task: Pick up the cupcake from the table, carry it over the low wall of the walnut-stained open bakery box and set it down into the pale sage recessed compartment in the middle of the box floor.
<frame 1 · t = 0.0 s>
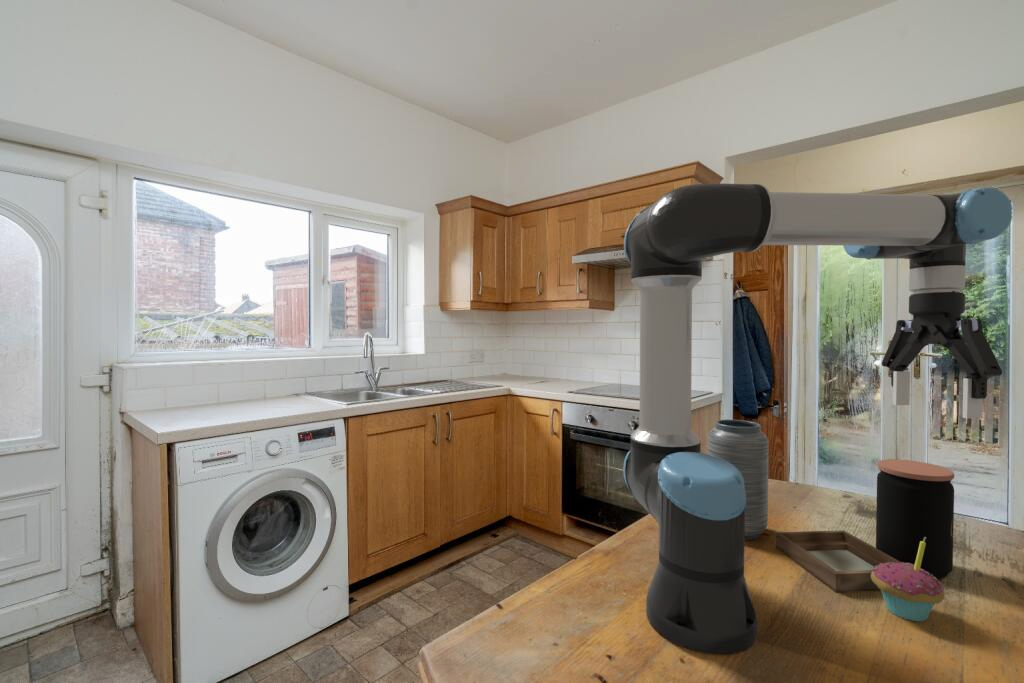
hand: (933, 411, 86), 28 cm above the table, fingers open, 13 cm apart
cupcake: (905, 613, 72), on the table
coffee jar: (912, 567, 87), on the table
vase: (736, 531, 102), on the table
walled box: (840, 566, 86), on the table
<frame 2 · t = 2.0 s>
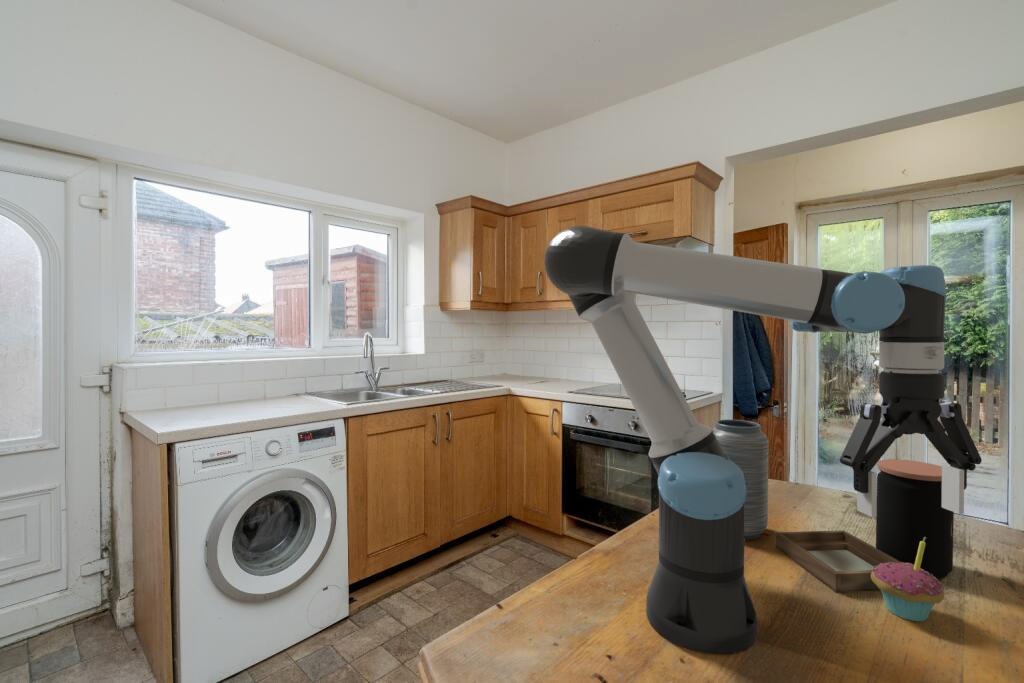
hand: (909, 512, 72), 15 cm above the table, fingers open, 13 cm apart
nothing on the table moved.
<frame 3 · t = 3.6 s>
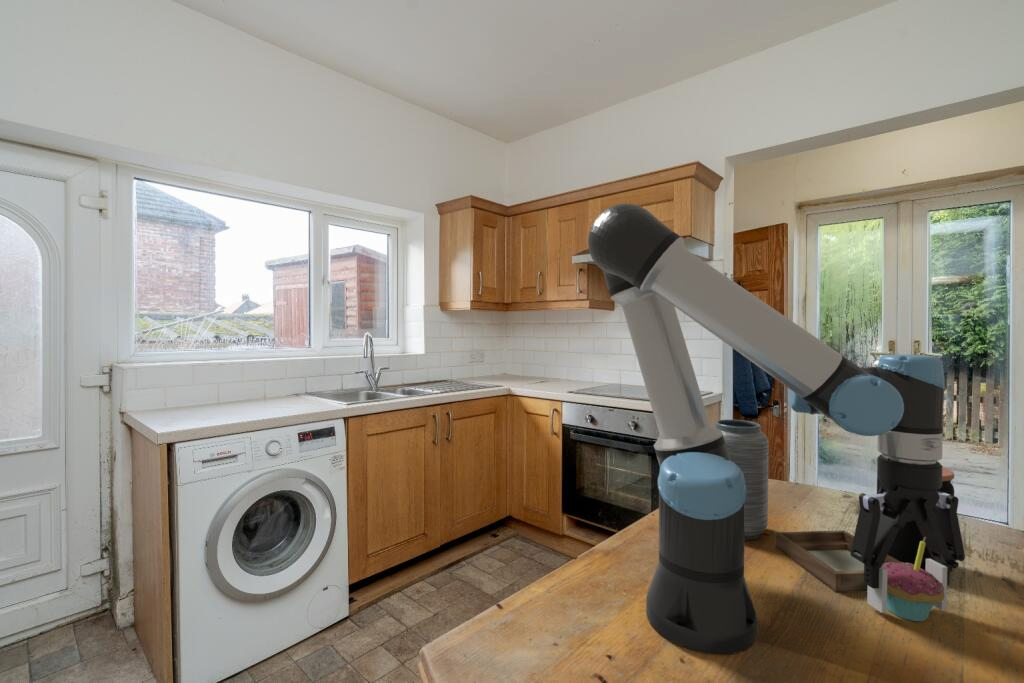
hand: (906, 606, 72), 1 cm above the table, fingers closed on cupcake, 9 cm apart
cupcake: (905, 613, 72), on the table, touching gripper
everything else where it was.
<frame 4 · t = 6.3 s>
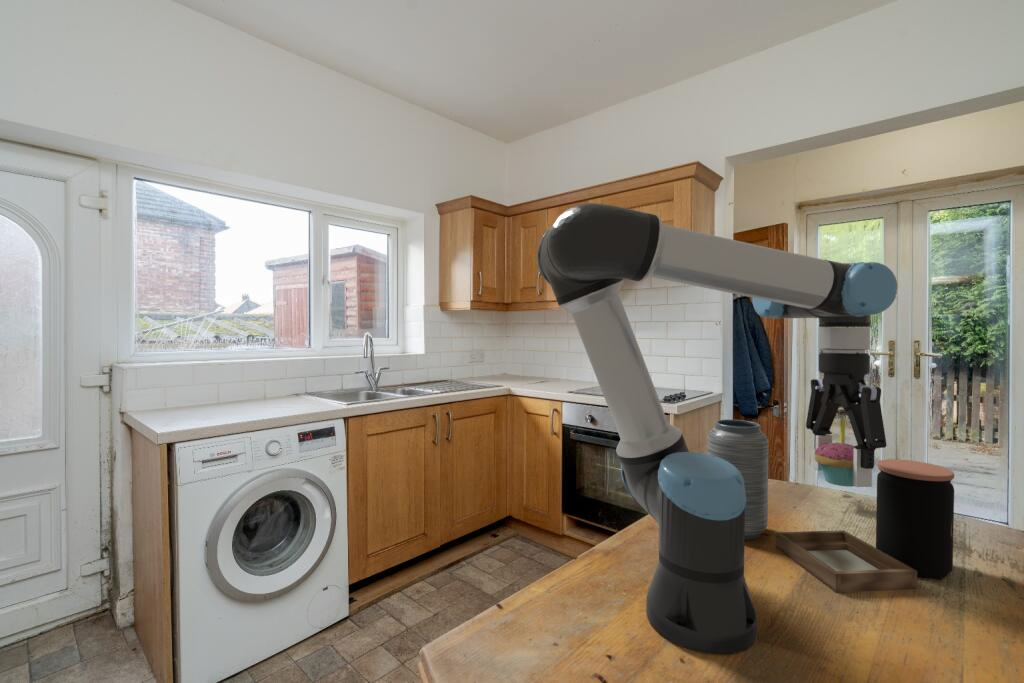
hand: (841, 477, 86), 16 cm above the table, fingers closed on cupcake, 9 cm apart
cupcake: (842, 483, 86), point 15 cm above the table, touching gripper
everything else where it was.
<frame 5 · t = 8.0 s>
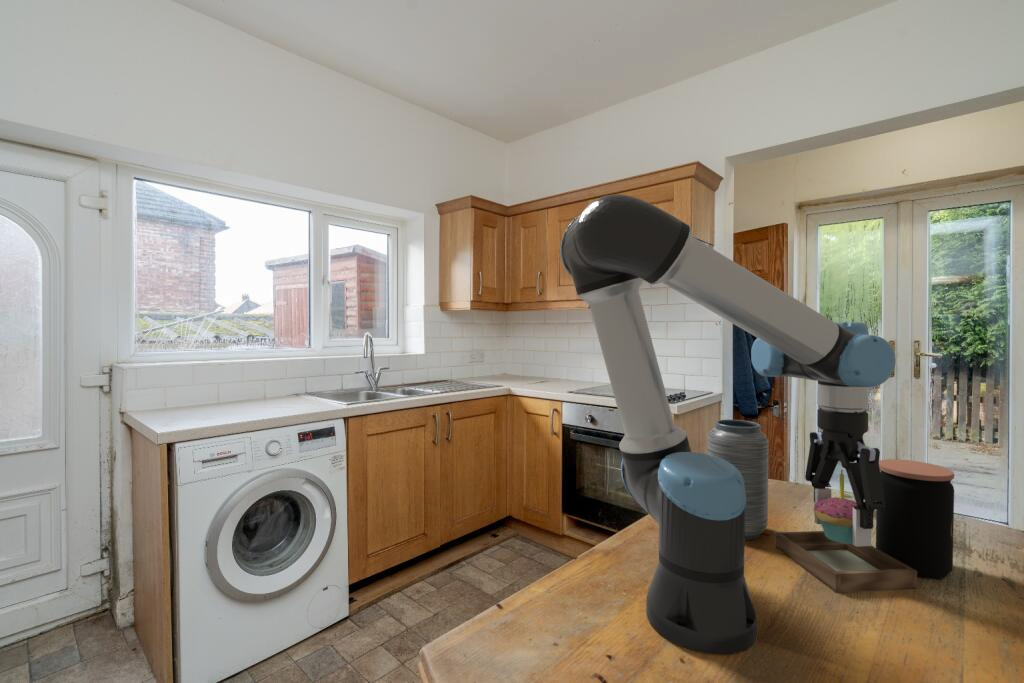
hand: (841, 533, 86), 6 cm above the table, fingers closed on cupcake, 9 cm apart
cupcake: (841, 539, 86), point 5 cm above the table, touching gripper
everything else where it was.
when the fingers open (3 cm above the table, at t = 9.2 s): cupcake drops 2 cm, resting on walled box.
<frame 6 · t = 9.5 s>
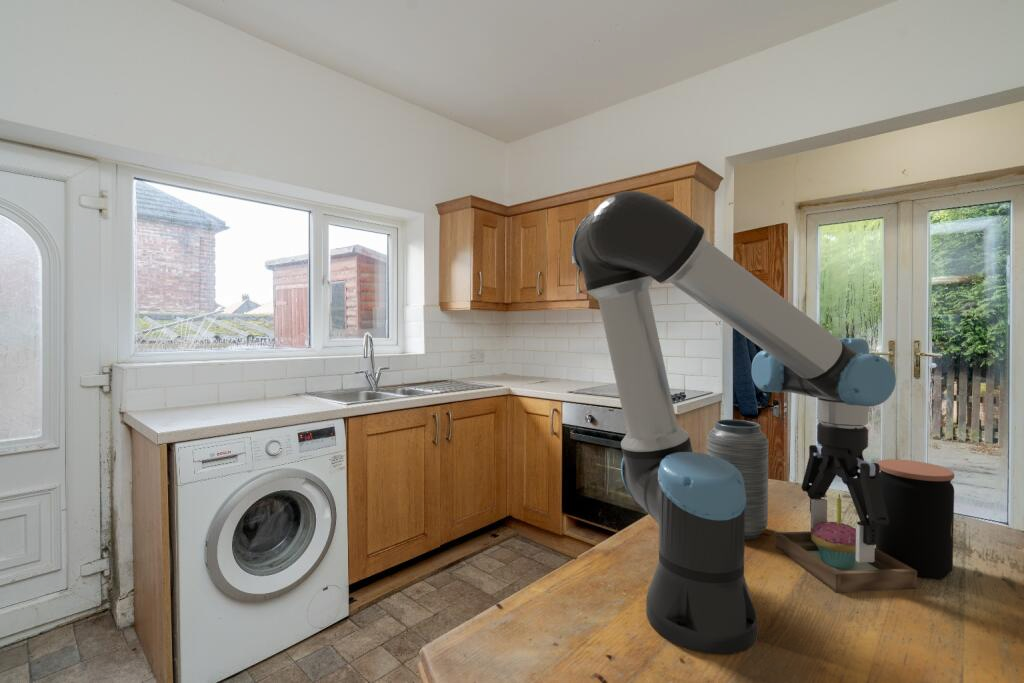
hand: (840, 546, 86), 4 cm above the table, fingers open, 10 cm apart
cupcake: (838, 564, 87), resting on walled box
everything else where it was.
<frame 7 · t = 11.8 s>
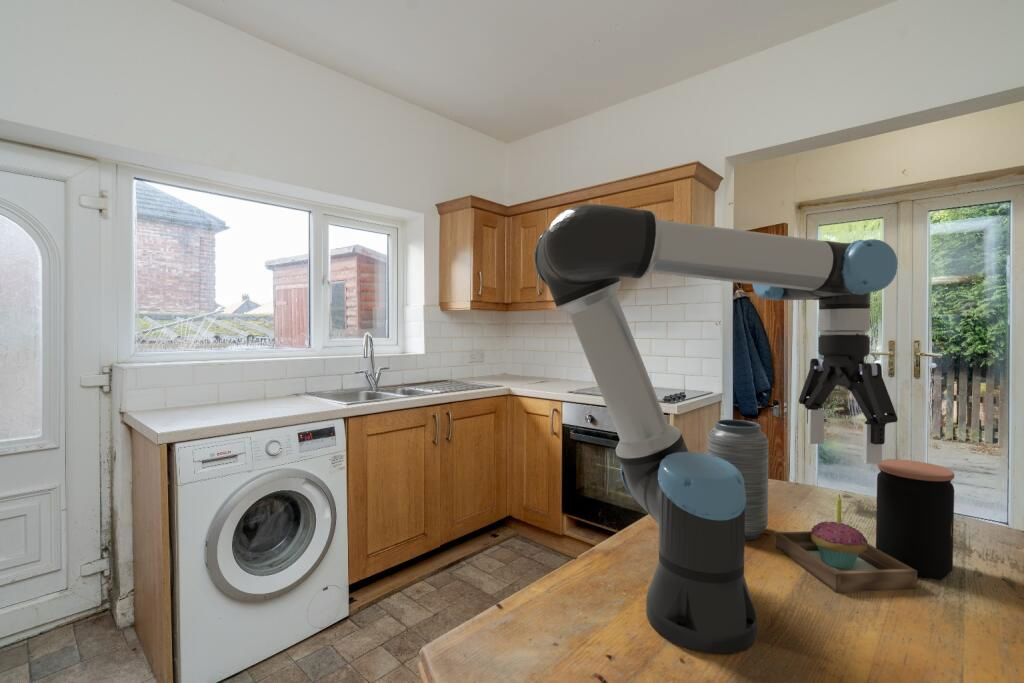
hand: (841, 452, 86), 21 cm above the table, fingers open, 13 cm apart
nothing on the table moved.
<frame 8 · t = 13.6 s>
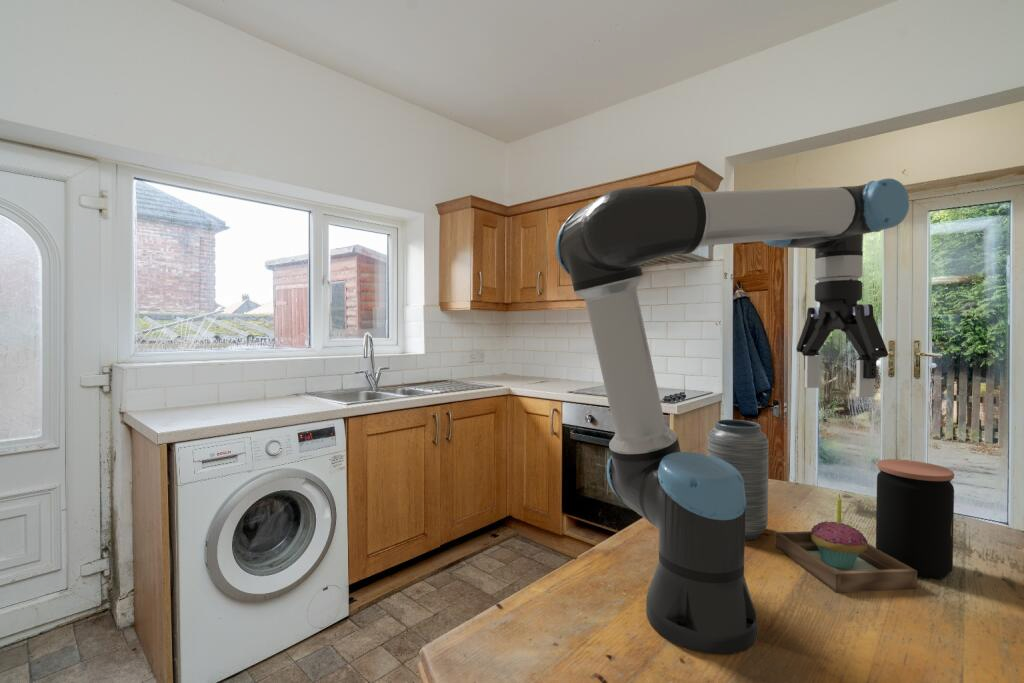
hand: (836, 392, 92), 31 cm above the table, fingers open, 13 cm apart
nothing on the table moved.
at the end: cupcake inside the target area on the walled box (0.4 cm from its centre), point 0.2 cm above the walled box's base; the gripper is holding nothing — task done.
